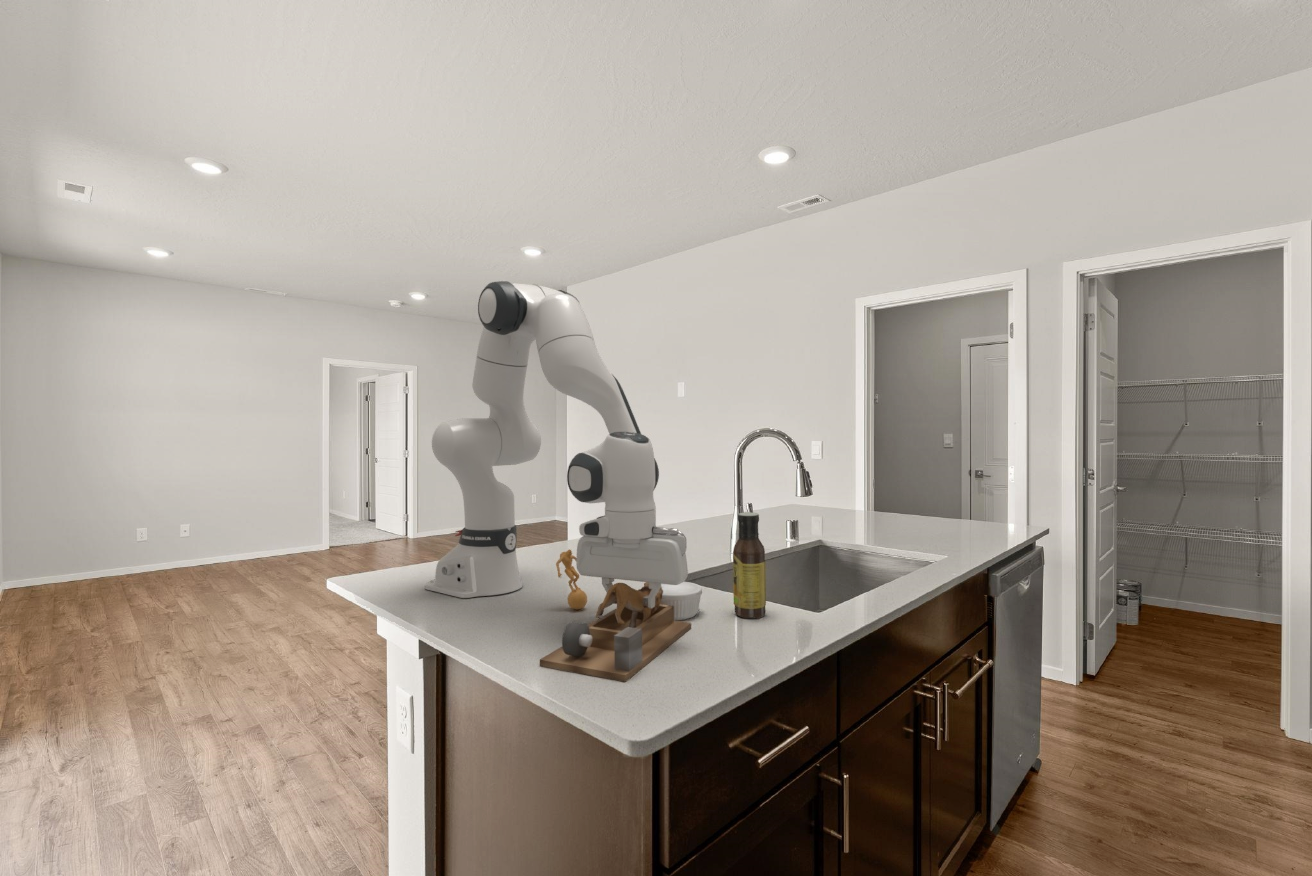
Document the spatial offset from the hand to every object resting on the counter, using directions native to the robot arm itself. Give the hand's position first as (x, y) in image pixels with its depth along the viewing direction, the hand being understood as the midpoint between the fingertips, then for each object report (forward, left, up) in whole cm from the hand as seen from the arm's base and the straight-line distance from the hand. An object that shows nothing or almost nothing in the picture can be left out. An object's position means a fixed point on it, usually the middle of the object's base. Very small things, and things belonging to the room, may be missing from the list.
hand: (631, 604), depth 108 cm
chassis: (0, -3, -6) cm, 7 cm away
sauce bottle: (+15, +22, -6) cm, 27 cm away
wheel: (-2, -13, -5) cm, 14 cm away
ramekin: (+1, +17, -6) cm, 18 cm away
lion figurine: (-1, -1, -4) cm, 4 cm away
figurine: (-19, +12, -6) cm, 23 cm away
